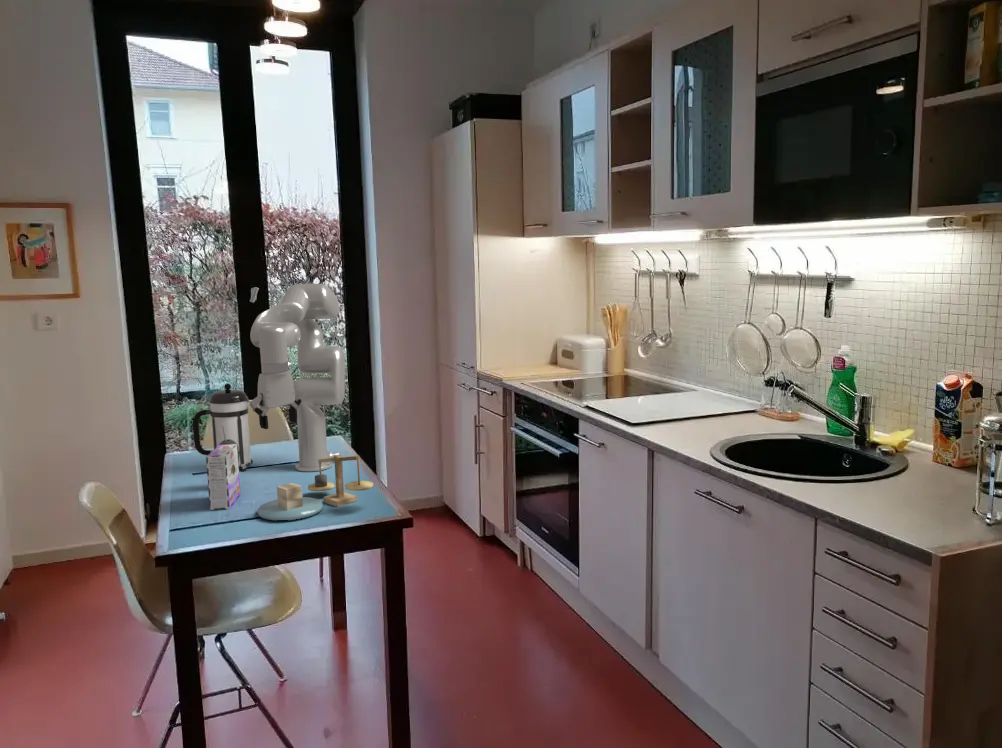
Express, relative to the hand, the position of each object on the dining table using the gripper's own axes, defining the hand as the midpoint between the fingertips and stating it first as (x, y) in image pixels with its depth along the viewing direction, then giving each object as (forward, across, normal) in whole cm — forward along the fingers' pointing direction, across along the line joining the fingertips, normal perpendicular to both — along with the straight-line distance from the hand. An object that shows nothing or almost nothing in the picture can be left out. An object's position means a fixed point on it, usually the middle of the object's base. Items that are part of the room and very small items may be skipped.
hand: (279, 425), depth 230 cm
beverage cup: (+24, +4, -26) cm, 35 cm away
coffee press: (+25, -8, -48) cm, 54 cm away
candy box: (+24, +13, -12) cm, 29 cm away
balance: (+23, -10, +14) cm, 29 cm away
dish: (+23, +5, +11) cm, 26 cm away
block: (+21, +5, +11) cm, 25 cm away
